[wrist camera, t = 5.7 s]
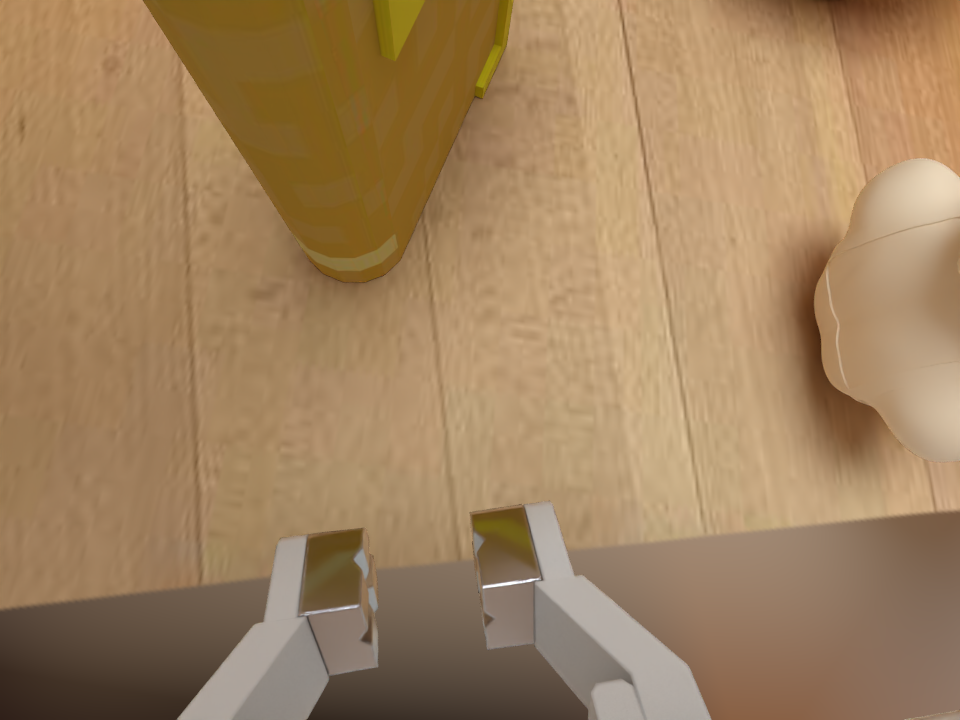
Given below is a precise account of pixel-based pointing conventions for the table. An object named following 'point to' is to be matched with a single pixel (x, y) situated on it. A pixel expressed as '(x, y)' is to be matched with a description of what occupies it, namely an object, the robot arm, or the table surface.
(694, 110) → the table surface
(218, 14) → the book
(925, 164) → the figurine
